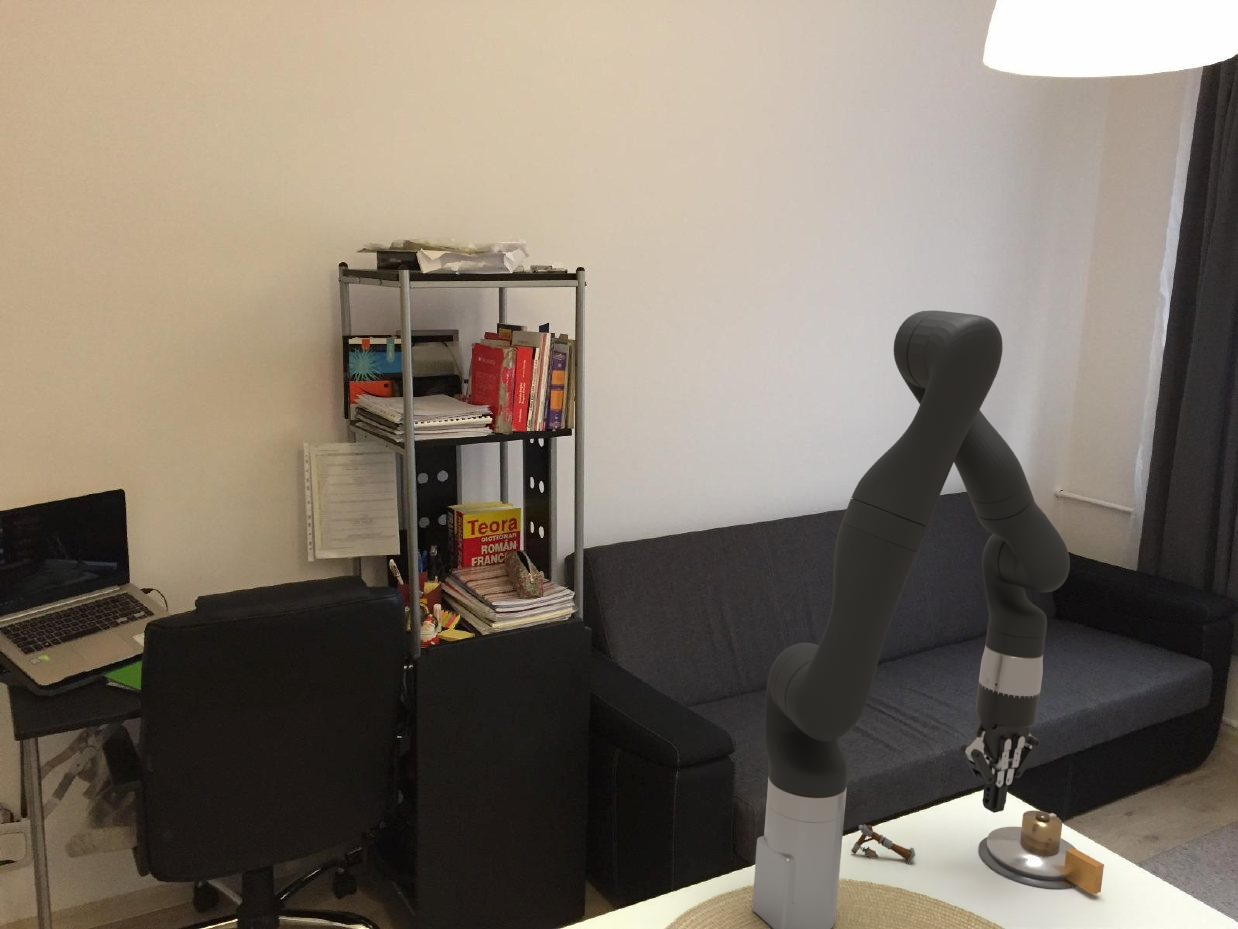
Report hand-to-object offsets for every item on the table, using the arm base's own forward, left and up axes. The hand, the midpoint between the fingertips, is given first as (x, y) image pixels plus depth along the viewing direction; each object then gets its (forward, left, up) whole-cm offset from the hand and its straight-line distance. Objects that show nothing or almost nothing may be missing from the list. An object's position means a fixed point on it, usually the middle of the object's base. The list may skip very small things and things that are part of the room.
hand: (993, 809), depth 137 cm
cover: (+9, 0, -7) cm, 12 cm away
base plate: (+8, 0, -9) cm, 12 cm away
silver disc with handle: (+8, -2, -8) cm, 12 cm away
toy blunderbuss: (-10, +8, -9) cm, 16 cm away
